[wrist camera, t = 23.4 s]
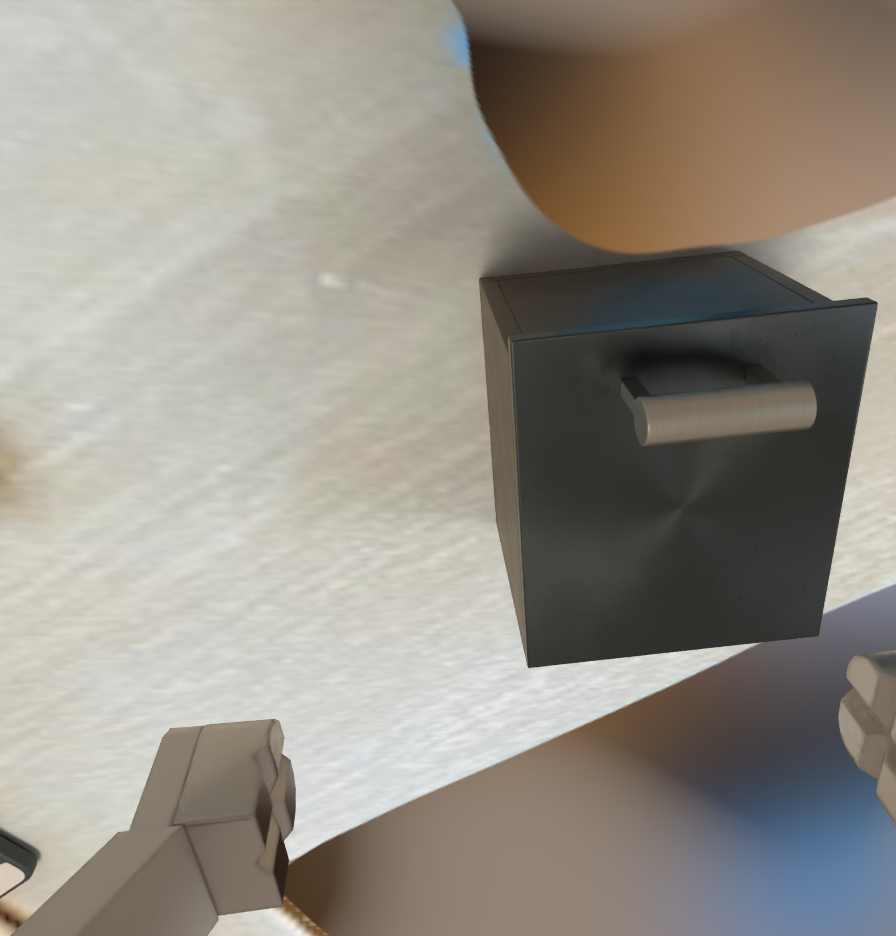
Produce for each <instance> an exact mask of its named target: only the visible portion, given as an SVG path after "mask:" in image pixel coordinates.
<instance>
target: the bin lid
mask: <svg viewBox="0 0 896 936" xmlns="http://www.w3.org/2000/svg"><path fill="white" fill-rule="evenodd" d="M877 305H878V304H877V302H875V301H873V300H871V299H869V298H858V299H848V300H839V301H830V302H820V303H811V304H801V305H792V306H782V307H773V308H764V309H754V310H745V311H735V312H726V313H716V314H707V315H698V316H688V317H679V318H669V319H660V320H650V321H641V322H632V323H622V324H613V325H603V326H594V327H584V328H575V329H566V330H556V331H547V332H537V333H528V334H518V335H510V336H508V350H509V368H510V386H511V404H512V422H513V440H514V458H515V476H516V494H517V512H518V530H519V548H520V566H521V584H522V602H523V620H524V638H525V656H526V661H527V666H528V668H532V667H541V666H550V665H559V664H569V663H578V662H587V661H596V660H605V659H614V658H623V657H632V656H641V655H650V654H659V653H669V652H678V651H687V650H696V649H705V648H714V647H723V646H732V645H741V644H750V643H759V642H768V641H778V640H787V639H796V638H805V637H813V636H818V635H819V630H820V625H821V619H822V614H823V608H824V602H825V597H826V591H827V586H828V580H829V574H830V569H831V563H832V557H833V552H834V546H835V541H836V535H837V529H838V524H839V518H840V513H841V507H842V501H843V496H844V490H845V485H846V479H847V473H848V468H849V462H850V457H851V451H852V445H853V440H854V434H855V428H856V423H857V417H858V412H859V406H860V400H861V395H862V389H863V384H864V378H865V372H866V367H867V361H868V356H869V350H870V344H871V339H872V333H873V328H874V322H875V316H876V311H877Z"/></svg>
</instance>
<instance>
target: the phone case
mask: <svg viewBox="0 0 896 936" xmlns="http://www.w3.org/2000/svg"><path fill="white" fill-rule="evenodd" d="M36 865H37V860H36V858H35V856H34V855H33V854H31V853H30V852H28V851H26V850H24V849H22V848H21V847H19V846H17V845H15V844H13V843H12V842H10V841H8V840H6V839H4V838H3V837H1V836H0V898H2V897H3V896H5V895H6V894H8V893H9V892H11V891H12V890H14V889H15V888H17V887H18V886H20V885H21V884H23V883H24V882H26V881H27V880H28V879H30V877H31V876H32V874H33V872H34V870H35V868H36Z"/></svg>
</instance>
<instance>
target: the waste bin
mask: <svg viewBox="0 0 896 936" xmlns="http://www.w3.org/2000/svg"><path fill="white" fill-rule="evenodd" d="M479 283H480V297H481V312H482V326H483V340H484V354H485V368H486V382H487V396H488V410H489V424H490V438H491V452H492V466H493V480H494V494H495V508H496V522H497V528H498V532H499V537H500V542H501V546H502V551H503V556H504V560H505V565H506V569H507V574H508V579H509V583H510V588H511V593H512V597H513V602H514V606H515V611H516V616H517V620H518V625H519V629H520V634H521V639H522V643H523V648H524V653H525V638H524V620H523V602H522V584H521V566H520V548H519V530H518V512H517V494H516V476H515V458H514V440H513V422H512V404H511V386H510V368H509V350H508V336H510V335H518V334H528V333H537V332H547V331H556V330H566V329H575V328H584V327H594V326H603V325H613V324H622V323H632V322H641V321H650V320H660V319H669V318H679V317H688V316H698V315H707V314H716V313H726V312H735V311H745V310H754V309H764V308H773V307H782V306H792V305H801V304H811V303H820V302H830V301H832V300H831V299H829V298H827V297H825V296H823V295H821V294H819V293H817V292H815V291H814V290H812V289H810V288H808V287H806V286H804V285H802V284H800V283H799V282H797V281H795V280H793V279H791V278H789V277H787V276H785V275H783V274H782V273H780V272H778V271H776V270H774V269H772V268H770V267H768V266H767V265H765V264H763V263H761V262H759V261H757V260H755V259H753V258H752V257H750V256H748V255H746V254H744V253H742V252H740V251H736V252H726V253H717V254H707V255H698V256H688V257H679V258H669V259H660V260H650V261H641V262H631V263H622V264H612V265H603V266H593V267H584V268H574V269H565V270H555V271H546V272H536V273H527V274H517V275H508V276H498V277H489V278H480V279H479Z"/></svg>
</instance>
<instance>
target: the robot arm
mask: <svg viewBox="0 0 896 936" xmlns="http://www.w3.org/2000/svg"><path fill="white" fill-rule="evenodd" d="M846 677H847V678H848V680H849V681H850V683H851V684H852V685H853V687H854V688H853V689H852V690H851V691H850V692H849V693H848V694H847V695H845V697H844V698H842V699H841V704H840V710H839V716H838V719H839V725H840V730H841V737H842V739H843V742H844V744H845V746H846V749H847V751H848V753H849V754H850V756H851V758H852V759H853V761H854V762H855V764H856V766H857V767H858V768H859V769H861V770H863V771H864V772H866V773H867V774H869V775H871V776H872V777H874V778H876V779H877V780H878V783H877V789H876V796H877V798H878V799H879V800H880V802H881V804H882V805H883V807H884V808H885V810H886V811H887V812H888V814H889V815H890V817H891V819H892V820H893V822H894V823H895V825H896V651H887V652H878V653H870V654H861V655H855V656H854V658H853V659H852V660H851V661H850V662H849V665H848V670H847V674H846ZM283 743H284V735H283V732H282V728H281V725H280V722H279V721H278V720H276V719H268V720H256V721H244V722H233V723H221V724H209V725H205V726H194V727H181V728H170V729H169V731H168V732H167V733H166V734H165V735H164V737H163V738H162V740H161V743H160V746H159V749H158V751H157V754H156V757H155V760H154V763H153V765H152V768H151V771H150V774H149V777H148V779H147V782H146V785H145V788H144V790H143V793H142V796H141V799H140V802H139V804H138V807H137V810H136V813H135V815H134V818H133V821H132V824H131V827H130V829H129V831H124V832H118V833H117V834H116V835H115V836H114V837H113V838H112V839H110V840H109V841H108V842H107V843H106V844H105V845H104V846H103V847H102V848H101V849H100V850H99V851H98V852H97V853H96V854H95V855H94V856H93V857H92V858H91V859H90V860H89V861H88V862H87V863H86V864H84V865H83V866H82V867H81V868H80V869H79V870H78V871H77V872H76V873H75V874H74V875H73V876H72V877H71V878H70V879H69V880H68V881H67V882H66V883H65V884H64V885H63V886H62V887H61V888H60V889H58V890H57V891H56V892H55V893H54V894H53V895H52V896H51V897H50V898H49V899H48V900H47V901H46V902H45V903H44V904H43V905H42V906H41V907H40V908H39V909H38V910H37V911H36V912H35V913H34V914H32V915H31V916H30V917H29V918H28V919H27V920H26V921H25V922H24V923H23V924H22V925H21V926H20V927H19V928H18V929H17V930H16V931H15V932H14V933H13V934H12V935H11V936H208V934H209V933H210V931H211V930H212V929H213V927H214V926H215V924H216V923H217V921H218V916H219V915H226V914H233V913H240V912H247V911H254V910H261V909H269V908H276V907H282V904H283V897H284V890H285V883H286V876H287V869H288V863H289V858H288V855H287V851H286V847H285V844H284V840H285V839H286V838H287V836H288V835H289V834H290V833H291V832H292V830H293V827H294V819H295V810H296V788H295V780H294V772H293V768H292V764H291V760H290V759H288V758H287V757H285V756H284V755H283V754H282V749H283Z"/></svg>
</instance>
